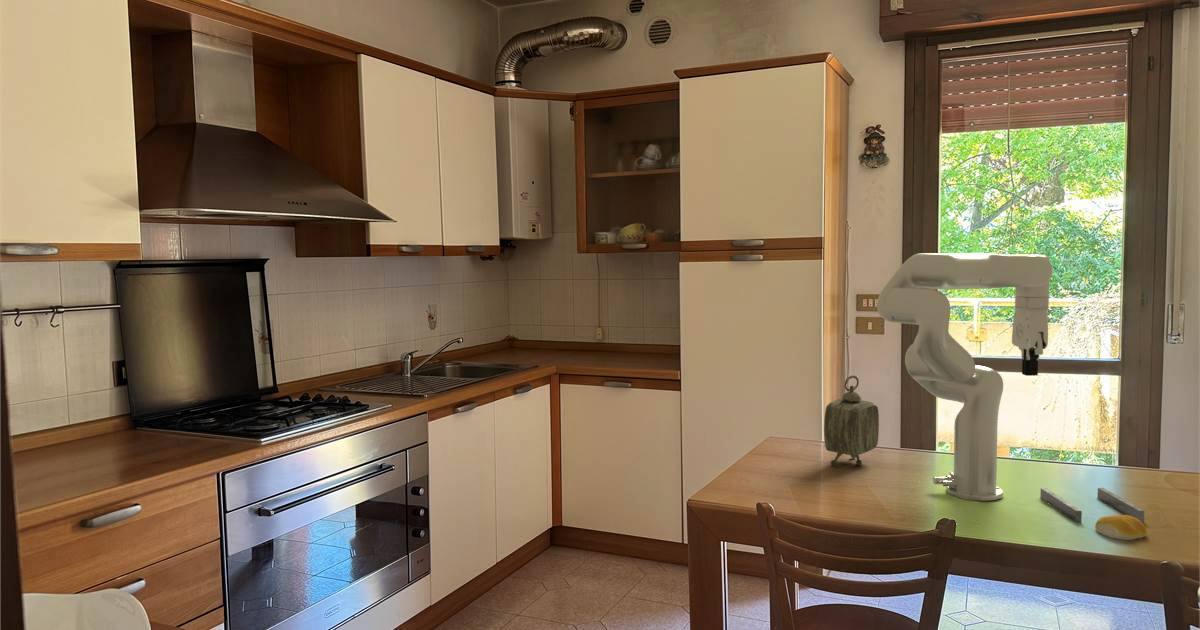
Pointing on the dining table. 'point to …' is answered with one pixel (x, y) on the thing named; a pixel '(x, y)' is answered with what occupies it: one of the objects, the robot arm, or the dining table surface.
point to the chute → (1102, 495)
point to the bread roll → (1121, 527)
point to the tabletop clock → (851, 425)
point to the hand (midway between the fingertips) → (1029, 374)
